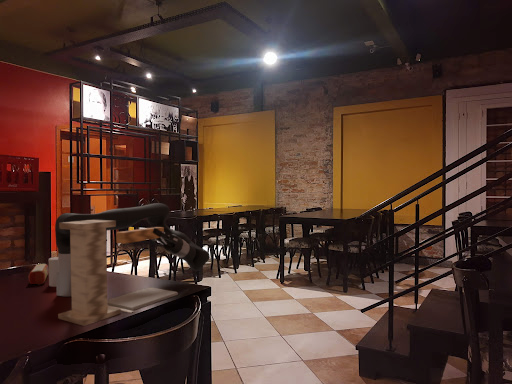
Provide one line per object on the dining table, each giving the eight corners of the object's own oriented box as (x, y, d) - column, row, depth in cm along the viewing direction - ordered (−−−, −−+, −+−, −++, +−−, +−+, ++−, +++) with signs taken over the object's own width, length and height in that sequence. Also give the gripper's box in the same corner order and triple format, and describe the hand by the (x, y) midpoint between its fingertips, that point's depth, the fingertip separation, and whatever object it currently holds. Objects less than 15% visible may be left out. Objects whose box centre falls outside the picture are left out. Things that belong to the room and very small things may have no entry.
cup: (53, 282, 180) (53, 256, 179) (72, 281, 180) (71, 256, 180) (45, 286, 172) (45, 260, 171) (64, 286, 172) (64, 259, 172)
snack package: (34, 276, 194) (34, 263, 194) (49, 275, 196) (49, 261, 196) (28, 286, 174) (28, 271, 174) (45, 284, 177) (44, 269, 177)
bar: (156, 236, 160) (156, 226, 160) (163, 237, 158) (163, 227, 158) (116, 243, 143) (116, 232, 143) (123, 243, 141) (123, 232, 141)
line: (130, 313, 133) (130, 312, 133) (94, 304, 144) (94, 303, 144) (134, 312, 135) (134, 311, 135) (97, 303, 145) (97, 302, 145)
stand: (95, 307, 141) (93, 219, 140) (120, 313, 133) (118, 220, 133) (58, 318, 129) (56, 222, 129) (83, 325, 122) (81, 224, 121)
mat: (131, 310, 136) (131, 307, 136) (102, 303, 145) (102, 301, 145) (177, 294, 156) (177, 292, 156) (149, 289, 164) (149, 287, 164)
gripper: (167, 237, 172) (141, 220, 159) (192, 239, 165) (166, 222, 152) (161, 253, 169) (134, 237, 156) (186, 255, 162) (159, 239, 149)
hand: (150, 230), depth 154 cm, fingers closed on bar, 3 cm apart
